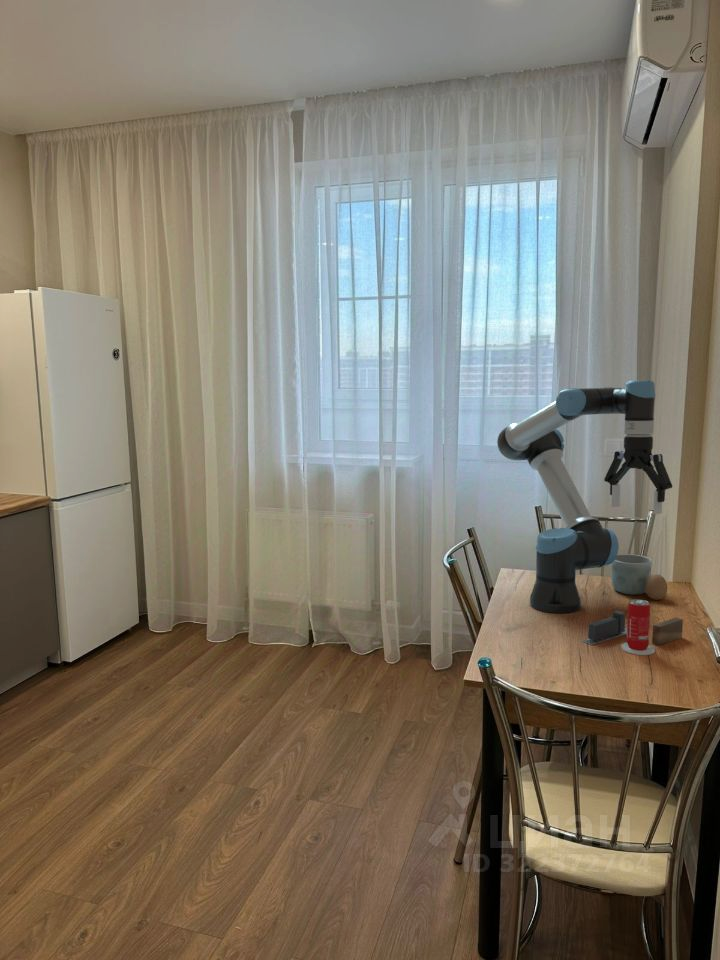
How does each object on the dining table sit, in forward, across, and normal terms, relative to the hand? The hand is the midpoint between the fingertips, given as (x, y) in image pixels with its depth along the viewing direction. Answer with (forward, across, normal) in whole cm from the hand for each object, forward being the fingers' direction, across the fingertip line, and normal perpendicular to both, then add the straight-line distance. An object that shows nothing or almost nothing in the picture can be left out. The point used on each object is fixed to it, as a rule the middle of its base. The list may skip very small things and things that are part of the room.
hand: (635, 510), depth 190 cm
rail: (+32, +6, -14) cm, 35 cm away
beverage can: (+31, +16, -20) cm, 40 cm away
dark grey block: (+32, +6, -19) cm, 38 cm away
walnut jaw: (+32, +16, -8) cm, 37 cm away
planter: (+32, -16, +21) cm, 41 cm away
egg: (+32, -6, +20) cm, 38 cm away
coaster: (+32, +16, -20) cm, 41 cm away
